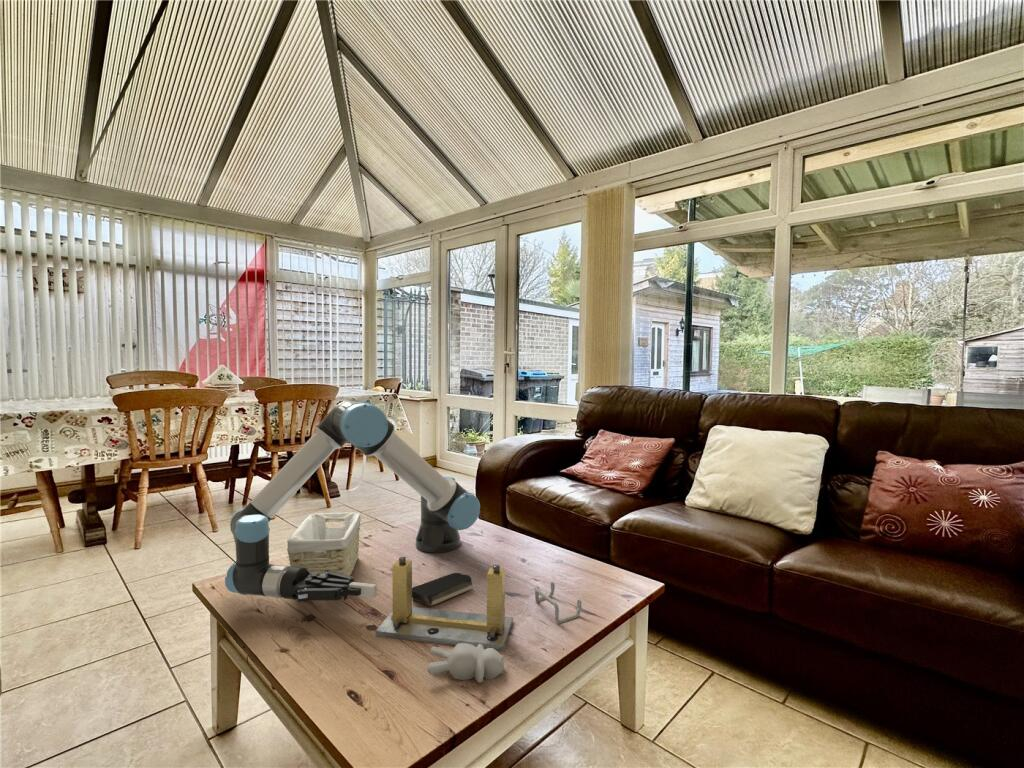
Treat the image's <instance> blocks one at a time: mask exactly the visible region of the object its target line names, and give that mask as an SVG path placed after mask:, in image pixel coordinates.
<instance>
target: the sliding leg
mask: <svg viewBox="0 0 1024 768" xmlns="http://www.w3.org/2000/svg"><path fill="white" fill-rule="evenodd" d="M406 558H407V557H406V556H400V557H398V559H397V560H396V561H395V562H394V563H393V564H392V611H393V615H392V621H393V622H394V623H393V627H398V626H399V625H400V623H401V622H402V623H406V622H407V621H408V616H409V614H412V607H413V598H412V588H413V560H409V559H406Z"/></svg>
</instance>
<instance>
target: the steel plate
mask: <svg viewBox="0 0 1024 768" xmlns="http://www.w3.org/2000/svg"><path fill="white" fill-rule="evenodd" d="M392 614H393V610H391V612H390V613H389V614H388V615H387V617H386V618H385V619H384V620H383V621H382V623H381V624H380V625H379V626H378V628H377V629H376V630H375V637H381V638H391V639H399V640H407V641H414V642H415V641H416V642H425V643H433V644H442V645H447V646H448V645H450V646H456V645H457V644H459V643H467V644H471V645H473V646H475V647H477V646H478V644H482V645H483V647H484V650H485V649H487V648H493V649H495V650H496V651H500V652H501V651H502V652H504V650H505V647H506V644H507V641H508V638H509V636H510V633H511V629H512V625H513V623H514V617H511V616H505V625H504V627H503V629H502V633H501V634H500V633H496V635H495V637H494V638H490V632H487V630H480V629H471V628H462V627H453V626H444V625H435V624H426V623H417V622H408V621H407V622H406V623H402V622H401V623H400V625H399V626H398V627H393V623H394V622H393V621H392V620H391V615H392ZM412 614H413V615H422V616H431V617H441V618H450V619H459V620H468V621H478V622H487V614H484V613H474V612H463V611H455V610H445V609H438V608H427V607H417V606H412Z"/></svg>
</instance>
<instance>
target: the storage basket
mask: <svg viewBox="0 0 1024 768" xmlns="http://www.w3.org/2000/svg"><path fill="white" fill-rule="evenodd" d="M361 519H362V518H361V514H360V513H359V512H358V511H356V512H322V513H310V514H309V515H308V516H307V517H306V518H305V519H304V520H303V522H301V524H300V525H299V526H298V527H297V529H296V530H295V531H294V532H293V533H292V534H291V535H290V537H289V538H288V540H287V549H286V550H287V555H288V561H289V566H291V567H303V568H306V569H307V570H308V572H309V573H310V574H320V575H322V574H325V570H330V571H332V572H335V573H339V574H343V575H347V576H351V575H352V573H353V570H354V569H355V566H356V563H357V560H358V558H359V546H360V542H359V541H360V530H361V528H360V527H361ZM327 522H328V523H329V522H338V523H340V522H344V527H330V528H329V527H326V525H327V524H326V523H327Z"/></svg>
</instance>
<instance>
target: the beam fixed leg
mask: <svg viewBox="0 0 1024 768" xmlns="http://www.w3.org/2000/svg"><path fill="white" fill-rule="evenodd" d="M505 601H506V568H501V567H500V565H499V564H494V565H492V567H490V568H489V570H488V572H487V574H486V615H487V622H478V621H468V620H459V619H450V618H441V617H431V616H422V615H413V614H409V616H408V622H417V623H426V624H435V625H444V626H453V627H462V628H471V629H480V630H487V632H490V638H494V637H495V635H496V633H500V634H501V633H502V629H503V627H504V625H505V617H506V615H505V612H506V611H505V610H506V606H505V605H506V602H505ZM392 615H393V614H392ZM392 615H391V620H392Z"/></svg>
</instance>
